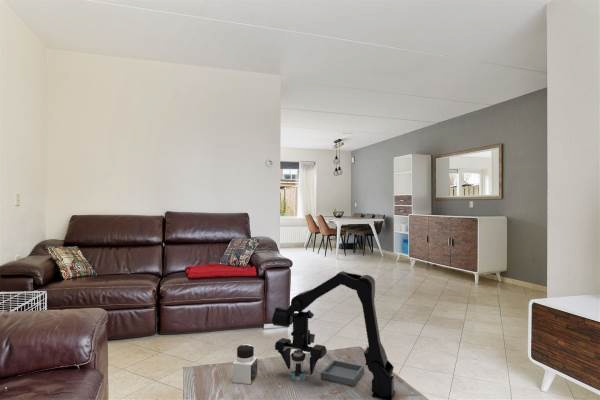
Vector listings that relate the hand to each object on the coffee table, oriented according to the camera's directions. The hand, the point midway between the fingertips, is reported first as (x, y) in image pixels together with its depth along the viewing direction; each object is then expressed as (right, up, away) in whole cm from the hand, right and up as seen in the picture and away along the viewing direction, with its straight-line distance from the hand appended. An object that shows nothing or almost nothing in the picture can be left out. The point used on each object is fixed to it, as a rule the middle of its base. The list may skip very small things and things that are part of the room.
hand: (300, 371), depth 135 cm
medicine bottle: (-20, -3, 0) cm, 20 cm away
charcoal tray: (+16, -3, +3) cm, 17 cm away
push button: (0, -3, 0) cm, 3 cm away
